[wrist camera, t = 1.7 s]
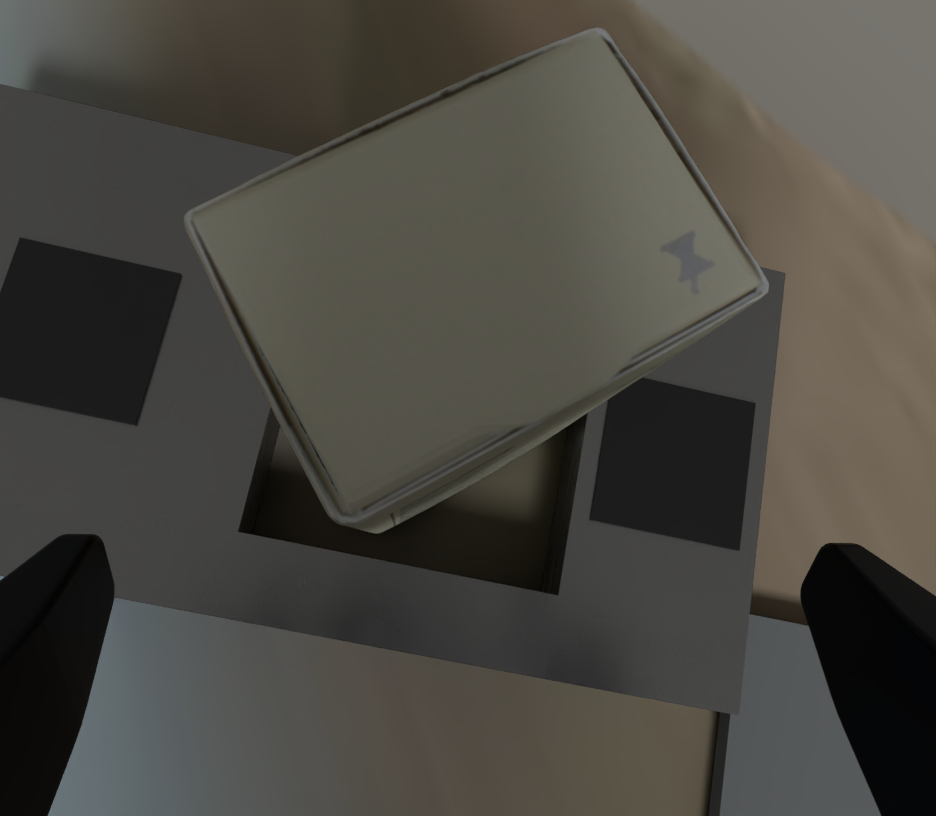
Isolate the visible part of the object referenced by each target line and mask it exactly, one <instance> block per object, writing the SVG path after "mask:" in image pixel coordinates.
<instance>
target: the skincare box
mask: <svg viewBox="0 0 936 816" xmlns="http://www.w3.org/2000/svg"><path fill="white" fill-rule="evenodd" d="M183 219H184V225H185V230H186V232H187V234H188V236H189V238H190V240H191V242H192V244H193V246H194V248H195V250H196V252H197V254H198V256H199V258H200V260H201V262H202V264H203V267H204V269H205V271H206V273H207V275H208V277H209V280H210V282H211V284H212V286H213V288H214V291H215V293H216V295H217V297H218V299H219V301H220V304H221V306H222V308H223V310H224V312H225V314H226V317H227V319H228V321H229V323H230V325H231V327H232V329H233V331H234V333H235V335H236V337H237V339H238V342H239V344H240V346H241V348H242V350H243V352H244V354H245V356H246V358H247V360H248V362H249V364H250V366H251V368H252V370H253V372H254V374H255V376H256V378H257V380H258V382H259V384H260V386H261V388H262V390H263V392H264V394H265V396H266V398H267V400H268V402H269V404H270V406H271V408H272V410H273V412H274V414H275V416H276V418H277V420H278V422H279V424H280V426H281V428H282V430H283V432H284V433H285V435H286V437H287V439H288V441H289V443H290V445H291V447H292V449H293V450H294V452H295V454H296V456H297V458H298V460H299V462H300V464H301V465H302V467H303V469H304V471H305V473H306V475H307V477H308V479H309V481H310V483H311V485H312V487H313V489H314V490H315V492H316V494H317V496H318V498H319V500H320V502H321V504H322V506H323V507H324V509H325V511H326V513H327V515H328V516H329V517H330V518H331V519H332V520H333V521H334V522H336V523H338V524H339V525H343V526H347V527H352V528H355V529H359V530H363V531H366V532H370V533H374V534H380V533H383V532H385V531H387V530H389V529H391V528H393V527H395V526H396V525H398V524H400V523H402V522H404V521H406V520H408V519H410V518H412V517H414V516H416V515H417V514H419V513H421V512H423V511H425V510H427V509H429V508H431V507H432V506H434V505H436V504H438V503H439V502H441V501H443V500H445V499H447V498H448V497H450V496H452V495H454V494H456V493H458V492H459V491H461V490H463V489H465V488H466V487H468V486H470V485H472V484H473V483H475V482H477V481H479V480H480V479H482V478H484V477H486V476H487V475H489V474H491V473H492V472H494V471H496V470H498V469H499V468H501V467H503V466H504V465H506V464H508V463H509V462H511V461H513V460H514V459H516V458H518V457H520V456H521V455H523V454H525V453H526V452H528V451H529V450H531V449H533V448H534V447H536V446H537V445H539V444H541V443H542V442H544V441H545V440H547V439H549V438H550V437H552V436H553V435H555V434H557V433H558V432H559V431H561V430H562V429H564V428H565V427H567V426H568V425H570V424H571V423H573V422H574V421H576V420H577V419H579V418H580V417H582V416H583V415H585V414H586V413H588V412H589V411H591V410H592V409H594V408H595V407H597V406H599V405H600V404H602V403H603V402H605V401H606V400H608V399H609V398H611V397H612V396H614V395H615V394H617V393H618V392H620V391H622V390H623V389H625V388H626V387H628V386H629V385H631V384H632V383H634V382H635V381H637V380H639V379H640V378H642V377H643V376H645V375H646V374H648V373H649V372H651V371H653V370H654V369H656V368H657V367H659V366H660V365H662V364H663V363H665V362H666V361H668V360H669V359H671V358H672V357H674V356H675V355H677V354H678V353H680V352H681V351H683V350H684V349H686V348H687V347H689V346H690V345H692V344H693V343H695V342H696V341H698V340H700V339H701V338H703V337H704V336H706V335H707V334H709V333H710V332H712V331H713V330H715V329H716V328H718V327H719V326H721V325H722V324H724V323H725V322H726V321H728V320H729V319H731V318H732V317H734V316H735V315H737V314H738V313H740V312H741V311H743V310H744V309H746V308H747V307H749V306H750V305H752V304H753V303H755V302H756V301H758V300H759V299H761V298H762V297H763V296H764V295H765V294H766V293H768V290H769V282H768V280H767V278H766V277H765V275H764V273H763V272H762V270H761V268H760V267H759V265H758V263H757V262H756V260H755V259H754V257H753V256H752V255H751V253H750V252H749V250H748V249H747V247H746V246H745V244H744V243H743V241H742V239H741V237H740V236H739V234H738V232H737V230H736V228H735V226H734V225H733V223H732V221H731V220H730V218H729V217H728V216H727V214H726V213H725V211H724V209H723V208H722V206H721V205H720V203H719V201H718V199H717V198H716V196H715V194H714V193H713V191H712V189H711V188H710V186H709V184H708V183H707V181H706V180H705V178H704V177H703V175H702V174H701V172H700V171H699V169H698V168H697V166H696V165H695V163H694V162H693V160H692V158H691V156H690V155H689V153H688V152H687V150H686V148H685V147H684V145H683V143H682V142H681V140H680V138H679V137H678V135H677V134H676V132H675V131H674V129H673V127H672V126H671V124H670V123H669V121H668V120H667V118H666V117H665V115H664V114H663V112H662V111H661V109H660V107H659V106H658V104H657V103H656V101H655V100H654V98H653V96H652V95H651V94H650V92H649V91H648V90H647V88H646V86H645V85H644V83H643V82H642V80H641V79H640V77H639V76H638V75H637V74H636V72H635V71H634V70H633V69H632V67H631V66H630V65H629V63H628V62H627V60H626V59H625V57H624V56H623V55H622V53H621V51H620V50H619V48H618V47H617V45H616V43H615V42H614V40H613V39H612V37H611V36H610V35H609V34H608V32H607V31H606V30H605V29H602V28H599V27H596V28H592V29H587V30H585V31H582V32H580V33H578V34H575V35H573V36H570V37H567V38H564V39H561V40H557V41H554V42H552V43H550V44H548V45H545V46H543V47H541V48H538V49H536V50H533V51H531V52H528V53H525V54H522V55H520V56H517V57H515V58H513V59H511V60H509V61H506V62H503V63H501V64H498V65H496V66H494V67H492V68H489V69H487V70H485V71H483V72H479V73H476V74H474V75H472V76H470V77H468V78H466V79H464V80H462V81H459V82H457V83H455V84H453V85H450V86H448V87H446V88H443V89H441V90H439V91H437V92H435V93H433V94H431V95H429V96H427V97H424V98H422V99H419V100H417V101H415V102H412V103H410V104H409V105H406V106H404V107H402V108H400V109H398V110H395V111H393V112H391V113H389V114H387V115H385V116H383V117H380V118H378V119H376V120H374V121H372V122H370V123H367V124H365V125H363V126H361V127H359V128H357V129H355V130H352V131H350V132H348V133H346V134H344V135H342V136H340V137H337V138H335V139H333V140H331V141H329V142H328V143H326V144H323V145H321V146H319V147H316V148H314V149H312V150H310V151H308V152H306V153H304V154H301V155H299V156H297V157H295V158H293V159H291V160H289V161H287V162H285V163H283V164H282V165H280V166H278V167H276V168H274V169H272V170H270V171H268V172H265V173H263V174H261V175H258V176H256V177H255V178H253V179H251V180H249V181H247V182H245V183H243V184H241V185H239V186H237V187H236V188H233V189H231V190H229V191H227V192H225V193H223V194H221V195H219V196H217V197H215V198H213V199H211V200H209V201H207V202H205V203H203V204H201V205H198V206H196V207H194V208H192V209H190V210H189V211H188V212H187V213H186V214H185V216H184V218H183Z"/></svg>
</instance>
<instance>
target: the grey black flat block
mask: <svg viewBox="0 0 936 816" xmlns="http://www.w3.org/2000/svg"><path fill="white" fill-rule="evenodd" d="M295 157H297V155H293V154H288V153H284V152H280V151H276V150H272V149H268V148H264V147H259V146H255V145H251V144H247V143H243V142H239V141H234V140H230V139H226V138H222V137H218V136H214V135H210V134H205V133H201V132H197V131H193V130H189V129H185V128H181V127H176V126H172V125H168V124H164V123H160V122H156V121H151V120H147V119H143V118H139V117H135V116H131V115H127V114H122V113H118V112H114V111H110V110H106V109H102V108H97V107H93V106H89V105H85V104H81V103H77V102H73V101H68V100H64V99H60V98H56V97H52V96H48V95H43V94H39V93H35V92H31V91H27V90H23V89H19V88H14V87H10V86H6V85H2V84H0V576H4V577H5V576H7V575H8V574H9V573H11V572H12V571H13V570H15V569H16V568H17V567H19V566H20V565H21V564H22V563H24V562H25V561H26V560H28V559H29V558H30V557H32V556H33V555H34V554H35V553H37V552H38V551H39V550H41V549H42V548H43V547H45V546H46V545H47V544H48V543H50V542H51V541H52V540H54V539H55V538H57V537H58V536H61V535H63V534H95V535H98V536H99V537H100V538H101V539H102V540H103V543H104V546H105V549H106V553H107V557H108V561H109V564H110V568H111V572H112V576H113V580H114V586H115V593H114V597H115V598H120V599H126V600H131V601H136V602H141V603H147V604H152V605H157V606H163V607H168V608H173V609H178V610H184V611H189V612H194V613H200V614H205V615H210V616H215V617H221V618H226V619H231V620H237V621H242V622H247V623H252V624H258V625H263V626H268V627H274V628H279V629H284V630H289V631H295V632H300V633H305V634H310V635H316V636H321V637H326V638H332V639H337V640H342V641H347V642H353V643H358V644H363V645H369V646H374V647H379V648H384V649H390V650H395V651H400V652H406V653H411V654H416V655H421V656H427V657H432V658H437V659H443V660H448V661H453V662H458V663H464V664H469V665H474V666H479V667H485V668H490V669H495V670H501V671H506V672H511V673H516V674H522V675H527V676H532V677H538V678H543V679H548V680H553V681H559V682H564V683H569V684H575V685H580V686H585V687H590V688H596V689H601V690H606V691H612V692H617V693H622V694H627V695H633V696H638V697H643V698H648V699H654V700H659V701H664V702H670V703H675V704H680V705H685V706H691V707H696V708H701V709H707V710H712V711H717V712H722V713H728V714H733V715H738V716H739V711H740V701H741V692H742V682H743V672H744V663H745V653H746V644H747V634H748V625H749V615H750V606H751V596H752V587H753V577H754V568H755V558H756V549H757V539H758V529H759V520H760V510H761V501H762V491H763V482H764V472H765V463H766V453H767V444H768V434H769V425H770V415H771V406H772V396H773V387H774V377H775V367H776V358H777V348H778V339H779V329H780V320H781V310H782V301H783V291H784V282H785V273H783V272H778V271H774V270H770V269H766V268H762V267H760V268H761V270H762V272H763V273H764V275H765V277H766V278H767V280H768V282H769V290H768V293H766V294H765V295H764V296H763V297H762V298H761V299H759V300H758V301H756V302H755V303H753V304H752V305H750V306H749V307H747V308H746V309H744V310H743V311H741V312H740V313H738V314H737V315H735V316H734V317H732V318H731V319H729V320H728V321H726V322H725V323H724V324H722V325H721V326H719V327H718V328H716V329H715V330H713V331H712V332H710V333H709V334H707V335H706V336H704V337H703V338H701V339H700V340H698V341H696V342H695V343H693V344H692V345H690V346H689V347H687V348H686V349H684V350H683V351H681V352H680V353H678V354H677V355H675V356H674V357H672V358H671V359H669V360H668V361H666V362H665V363H663V364H662V365H660V366H659V367H657V368H656V369H654V370H653V371H651V372H649V373H648V374H646V375H645V376H643V377H642V378H640V379H639V380H637V381H635V382H634V383H632V384H631V385H629V386H628V387H626V388H625V389H623V390H622V391H620V392H618V393H617V394H615V395H614V396H612V397H611V398H609V399H608V400H606V401H605V402H603V403H602V404H600V405H599V406H597V407H595V408H594V409H592V410H591V411H589V412H588V413H586V414H585V415H583V416H582V417H580V418H579V419H577V420H576V421H574V422H573V423H571V424H570V425H569V426H568V432H567V438H566V444H565V450H564V456H563V462H562V468H561V474H560V480H559V486H558V492H557V498H556V504H555V510H554V516H553V521H552V527H551V533H550V539H549V545H548V551H547V557H546V563H545V569H544V575H543V581H542V587H541V591H537V590H532V589H527V588H522V587H517V586H512V585H507V584H502V583H497V582H492V581H487V580H482V579H477V578H472V577H467V576H462V575H456V574H451V573H446V572H441V571H436V570H431V569H426V568H421V567H416V566H411V565H406V564H401V563H396V562H391V561H386V560H381V559H376V558H371V557H366V556H361V555H356V554H351V553H346V552H341V551H336V550H331V549H326V548H321V547H316V546H311V545H306V544H301V543H296V542H291V541H286V540H281V539H276V538H271V537H266V536H260V535H255V534H252V533H253V529H254V525H255V521H256V517H257V513H258V509H259V506H260V502H261V498H262V494H263V490H264V486H265V482H266V478H267V474H268V471H269V467H270V463H271V459H272V455H273V451H274V447H275V443H276V439H277V436H278V432H279V428H280V424H279V422H278V420H277V418H276V416H275V414H274V412H273V410H272V408H271V406H270V404H269V402H268V400H267V398H266V396H265V394H264V392H263V390H262V388H261V386H260V384H259V382H258V380H257V378H256V376H255V374H254V372H253V370H252V368H251V366H250V364H249V362H248V360H247V358H246V356H245V354H244V352H243V350H242V348H241V346H240V344H239V342H238V339H237V337H236V335H235V333H234V331H233V329H232V327H231V325H230V323H229V321H228V319H227V317H226V314H225V312H224V310H223V308H222V306H221V304H220V301H219V299H218V297H217V295H216V293H215V291H214V288H213V286H212V284H211V282H210V280H209V277H208V275H207V273H206V271H205V269H204V267H203V264H202V262H201V260H200V258H199V256H198V254H197V252H196V250H195V248H194V246H193V244H192V242H191V240H190V238H189V236H188V234H187V232H186V230H185V225H184V219H183V218H184V216H185V214H186V213H187V212H188V211H189V210H190V209H192V208H194V207H196V206H198V205H201V204H203V203H205V202H207V201H209V200H211V199H213V198H215V197H217V196H219V195H221V194H223V193H225V192H227V191H229V190H231V189H233V188H236V187H237V186H239V185H241V184H243V183H245V182H247V181H249V180H251V179H253V178H255V177H256V176H258V175H261V174H263V173H265V172H268V171H270V170H272V169H274V168H276V167H278V166H280V165H282V164H283V163H285V162H287V161H289V160H291V159H293V158H295Z"/></svg>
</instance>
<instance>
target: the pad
mask: <svg viewBox="0 0 936 816" xmlns="http://www.w3.org/2000/svg"><path fill="white" fill-rule="evenodd" d="M708 816H881V814H880V812H879V810H878V807H877V805H876V803H875V800H874V798H873V796H872V793H871V791H870V789H869V787H868V784H867V782H866V780H865V777H864V775H863V773H862V770H861V768H860V766H859V763H858V761H857V759H856V757H855V754H854V752H853V750H852V747H851V745H850V743H849V740H848V738H847V736H846V734H845V731H844V729H843V726H842V724H841V721H840V719H839V716H838V714H837V711H836V708H835V706H834V703H833V700H832V697H831V694H830V691H829V688H828V685H827V682H826V679H825V676H824V673H823V669H822V666H821V663H820V660H819V657H818V654H817V651H816V648H815V644H814V641H813V638H812V635H811V632H810V629H809V626H806V625H801V624H796V623H791V622H786V621H781V620H777V619H772V618H767V617H762V616H757V615H752V614H750V615H749V625H748V634H747V644H746V653H745V663H744V672H743V682H742V692H741V701H740V711H739V716H738V715H733V714H728V713H722V712H720V715H719V724H718V733H717V742H716V751H715V760H714V769H713V778H712V788H711V797H710V806H709V815H708Z"/></svg>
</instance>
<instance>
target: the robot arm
mask: <svg viewBox="0 0 936 816" xmlns="http://www.w3.org/2000/svg"><path fill="white" fill-rule="evenodd" d="M114 593H115V586H114V580H113V576H112V572H111V568H110V564H109V561H108V557H107V553H106V549H105V546H104V543H103V540H102V539H101V538H100V537H99V536H98V535H95V534H63V535H61V536H58V537H57V538H55V539H54V540H52V541H51V542H50V543H48V544H47V545H46V546H45V547H43V548H42V549H41V550H39V551H38V552H37V553H35V554H34V555H33V556H32V557H30V558H29V559H28V560H26V561H25V562H24V563H22V564H21V565H20V566H19V567H17V568H16V569H15V570H13V571H12V572H11V573H9V574H8V575H7V576H5V577H4V578H3V579H2V580H0V816H48V813H49V811H50V808H51V805H52V803H53V800H54V797H55V795H56V792H57V790H58V787H59V784H60V782H61V779H62V776H63V774H64V771H65V769H66V766H67V763H68V761H69V758H70V755H71V753H72V750H73V748H74V745H75V742H76V739H77V736H78V733H79V730H80V728H81V725H82V721H83V718H84V714H85V710H86V707H87V703H88V699H89V695H90V691H91V688H92V684H93V680H94V676H95V672H96V668H97V664H98V660H99V656H100V652H101V648H102V645H103V641H104V637H105V633H106V629H107V625H108V621H109V617H110V613H111V609H112V605H113V601H114ZM800 596H801V603H802V607H803V610H804V613H805V616H806V619H807V623H808V626H809V629H810V632H811V635H812V638H813V641H814V644H815V648H816V651H817V654H818V657H819V660H820V663H821V666H822V669H823V673H824V676H825V679H826V682H827V685H828V688H829V691H830V694H831V697H832V700H833V703H834V706H835V708H836V711H837V714H838V716H839V719H840V721H841V724H842V726H843V729H844V731H845V734H846V736H847V738H848V740H849V743H850V745H851V747H852V750H853V752H854V754H855V757H856V759H857V761H858V763H859V766H860V768H861V770H862V773H863V775H864V777H865V780H866V782H867V784H868V787H869V789H870V791H871V793H872V796H873V798H874V800H875V803H876V805H877V807H878V810H879V812H880V814H881V816H936V596H935V595H933V594H932V593H930V592H929V591H927V590H926V589H924V588H923V587H921V586H920V585H918V584H917V583H915V582H914V581H912V580H911V579H909V578H908V577H906V576H905V575H904V574H902V573H901V572H899V571H898V570H896V569H895V568H893V567H892V566H890V565H889V564H887V563H886V562H884V561H883V560H881V559H880V558H878V557H877V556H875V555H874V554H873V553H871V552H870V551H868V550H867V549H865V548H864V547H862V546H860V545H858V544H854V543H828V544H825V545H824V546H823V547H821V549H820V550H819V552H818V554H817V556H816V558H815V560H814V562H813V564H812V565H811V567H810V569H809V571H808V573H807V575H806V577H805V579H804V581H803V583H802V586H801V595H800Z"/></svg>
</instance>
